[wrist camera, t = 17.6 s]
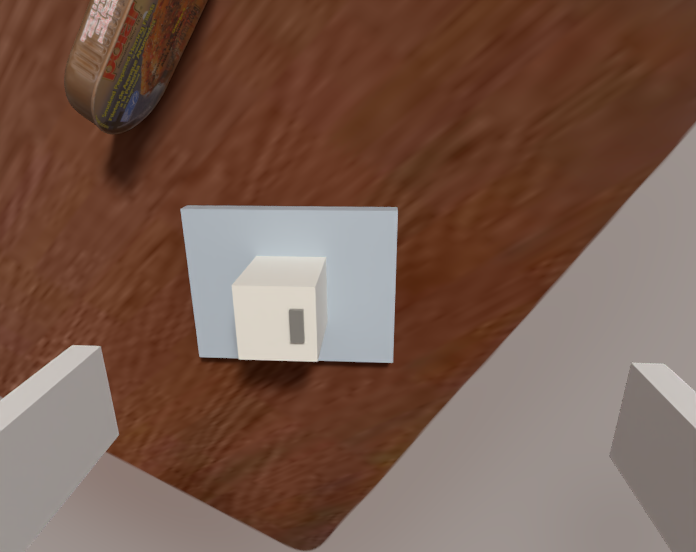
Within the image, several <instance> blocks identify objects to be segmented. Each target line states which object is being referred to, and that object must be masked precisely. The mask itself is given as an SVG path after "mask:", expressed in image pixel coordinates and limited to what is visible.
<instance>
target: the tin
mask: <svg viewBox="0 0 696 552" xmlns="http://www.w3.org/2000/svg"><path fill="white" fill-rule="evenodd" d="M207 1H208V0H90V3H89V5H88V8H87V10H86V13H85V16H84V18H83V21H82V24H81V26H80V29H79V32H78V34H77V36H76V40H75V42H74V45H73V47H72V50H71V52H70V55H69V58H68V61H67V65H66V69H65V78H64V85H65V92H66V96H67V98H68V101H69V102H70V104H71V106H72V107H73V108H74V109H75V110H76V111H77V112H78V113H79V114H81V115H82V116H83V117H85V118H86V119H88V120H89V121H91V122H92V123H94V124H95V125H97V127H98V128H99V129H100V130H101V131H103V132H105V133H107V134H120V133H123V132H126V131H128V130H130V129H132V128H133V127H135V126H136V125H138V124H139V123H140V122H141V121H142V120H144V119H145V118H146V117H147V116H148V115H149V114H150V113H151V111H152V110H153V109H154V108H155V106H156V105H157V103H158V102H159V100H160V99H161V97H162V96H163V94H164V92H165V90H166V88H167V86H168V84H169V81H170V79H171V77H172V75H173V73H174V71H175V69H176V66H177V65H178V62H179V60H180V58H181V56H182V54H183V52H184V49H185V47H186V45H187V43H188V41H189V39H190V37H191V35H192V33H193V31H194V29H195V26H196V24H197V22H198V20H199V18H200V16H201V14H202V12H203V9H204V7H205V5H206V3H207Z"/></svg>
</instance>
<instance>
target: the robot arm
mask: <svg viewBox="0 0 696 552" xmlns="http://www.w3.org/2000/svg"><path fill="white" fill-rule="evenodd" d="M118 435H119V432H118V427H117V423H116V418H115V413H114V408H113V403H112V398H111V394H110V389H109V384H108V379H107V374H106V369H105V365H104V360H103V355H102V350H101V346H79V345H72V346H70V347H69V348H68V349H67V350H65V351H64V352H63V353H61V354H60V355H59V356H57V357H56V358H55V359H54V360H52V361H51V362H50V363H48V364H47V365H46V366H44V367H43V368H42V369H41V370H39V371H38V372H37V373H35V374H34V375H33V376H31V377H30V378H29V379H28V380H26V381H25V382H24V383H22V384H21V385H20V386H18V387H17V388H16V389H15V390H13V391H12V392H11V393H9V394H8V395H7V396H5V397H4V398H3V399H2V400H0V552H25V551H26V550H27V549H28V548H29V546H30V545H31V544H32V543H33V541H34V540H35V539H36V538H37V536H38V535H39V534H40V533H41V531H42V530H43V529H44V528H45V526H46V525H47V524H48V522H49V521H50V520H51V519H52V518H53V516H54V515H55V514H56V513H57V511H58V510H59V509H60V508H61V506H62V505H63V504H64V503H65V501H66V500H67V499H68V498H69V496H70V495H71V494H72V493H73V491H74V490H75V489H76V488H77V487H78V485H79V484H80V483H81V482H82V480H83V479H84V478H85V476H86V475H87V474H88V473H89V472H90V470H91V469H92V468H93V467H94V465H95V464H96V463H97V462H98V460H99V459H100V458H101V457H102V455H103V454H104V453H105V452H106V450H107V449H108V448H109V447H110V445H111V444H112V443H113V442H114V440H115V439H116V438H117V437H118ZM610 458H611V460H612V461H613V463H614V464H615V465H616V467H617V469H618V470H619V471H620V473H621V475H622V476H623V478H624V479H625V481H626V482H627V484H628V485H629V487H630V488H631V490H632V492H633V493H634V495H635V496H636V498H637V499H638V501H639V502H640V504H641V505H642V507H643V508H644V510H645V512H646V513H647V515H648V516H649V518H650V519H651V521H652V522H653V524H654V525H655V527H656V528H657V530H658V531H659V533H660V535H661V536H662V538H663V539H664V541H665V542H666V544H667V545H668V547H669V548H670V550H671V551H672V552H696V392H695V391H694V390H693V389H692V388H691V387H690V386H689V385H688V384H686V383H685V382H684V381H683V380H682V379H681V378H680V377H679V376H677V375H676V374H675V373H674V372H673V371H672V370H671V369H670V368H669V367H668V366H667V365H665V364H654V363H631V366H630V370H629V374H628V379H627V383H626V387H625V392H624V396H623V400H622V404H621V409H620V413H619V417H618V422H617V426H616V430H615V435H614V439H613V443H612V447H611V452H610Z"/></svg>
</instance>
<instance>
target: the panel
mask: <svg viewBox="0 0 696 552" xmlns="http://www.w3.org/2000/svg"><path fill="white" fill-rule="evenodd" d="M181 217H182V224H183V232H184V240H185V248H186V255H187V263H188V271H189V279H190V287H191V294H192V302H193V310H194V318H195V325H196V333H197V341H198V349H199V356H200V357H211V358H239V357H238V347H237V337H236V326H235V316H234V306H233V295H232V284H233V283H234V282H235V281H236V279H237V278H238V277H239V276H240V275H241V274H242V272H243V271H244V270H245V269H246V268H247V266H248V265H249V264H250V263H251V262H252V260H253V259H254V258H255V257H256V256H294V257H326V271H327V316H328V322H327V326H326V330H325V334H324V338H323V342H322V346H321V350H320V354H319V358H318V361H346V362H379V363H393V345H394V314H395V283H396V252H397V220H398V209H397V207H313V206H194V205H187V206H185V207H183V208H182V209H181Z"/></svg>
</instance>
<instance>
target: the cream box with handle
mask: <svg viewBox="0 0 696 552" xmlns="http://www.w3.org/2000/svg"><path fill="white" fill-rule="evenodd" d="M232 295H233V306H234V316H235V326H236V337H237V347H238V357H239V360H273V361H307V362H318V358H319V354H320V350H321V346H322V342H323V338H324V334H325V330H326V326H327V322H328V316H327V271H326V257H294V256H256V257H255V258H254V259H253V260H252V262H251V263H250V264H249V265H248V266H247V268H246V269H245V270H244V271H243V272H242V274H241V275H240V276H239V277H238V278H237V279H236V281H235V282H234V283H233V284H232Z"/></svg>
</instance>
